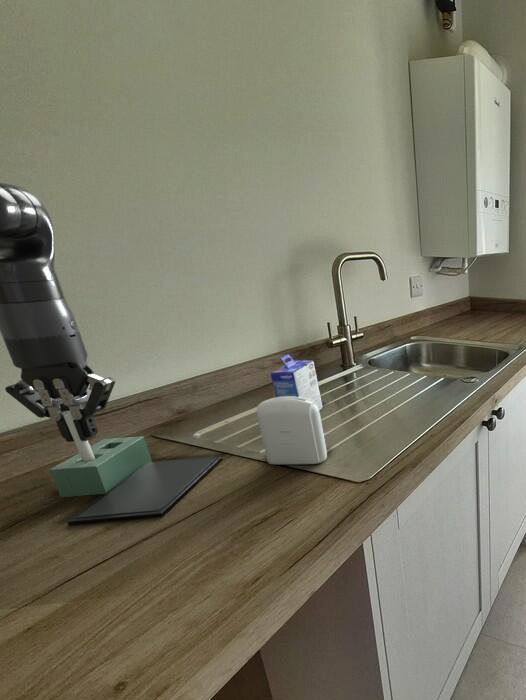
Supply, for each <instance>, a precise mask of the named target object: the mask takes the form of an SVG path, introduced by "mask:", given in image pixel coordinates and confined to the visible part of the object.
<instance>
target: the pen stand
mask: <svg viewBox="0 0 526 700" xmlns="http://www.w3.org/2000/svg"><path fill="white" fill-rule="evenodd" d="M90 447H91V450H92V452H93V454H94V457H95V460H93V461H89V462H83V460H82V458H81V456H80V453H79V452H78V453H77V454H75V455H73V456H71V457H69V458H68V459H66V460H64V461H62V462H61V463H59V464H57V465H55V466H53V467H52V468H49V472H50V475H51V477H52V480H53V482H54V484H55V487H56V489H57V492H58V494H59V496H60V498H70V497H71V498H72V497H82V496H94V495H95V496H96V495H97V496H98V495H104V494H106V493H107V492H109V491H110V490H111V489H113V488H114V487H115V486H117V485H118V484H120V483H121V482H122V481H124V480H125V479H126V478H128V477H129V476H131V475H132V474H133V473H135V472H136V471H137V470H139V469H140V468H142V467H143V466H144V465H146V464H147V463H149V462H153V460H152V457H151V454H150V451H149V448H148V445H147V442H146V438H145V436H144V435H143V436H130V437H127V436H126V437H113V438H104V439H101V440H100V441H98V442H96V443H94V444H93V445H90Z"/></svg>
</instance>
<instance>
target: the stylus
mask: <svg viewBox="0 0 526 700" xmlns="http://www.w3.org/2000/svg"><path fill="white" fill-rule="evenodd" d="M64 419H65V421H66V423H67V425H68V428H69V430H70V432H71V435H72V437H73V439H74V444H75V446H76V448H77V451H78V453H80V456H81V458H82V460H83V462H89V461H93V460H95V457H94V454H93V452H92V450H91V444H90V443H89V440H88V441H81V440H80V438H79V435H78V433H77V430H76V427H75V425H74V422H73V420H75V419H74V418H73V416H72V414H71V412H70V411H67V412H65V413H64Z"/></svg>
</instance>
